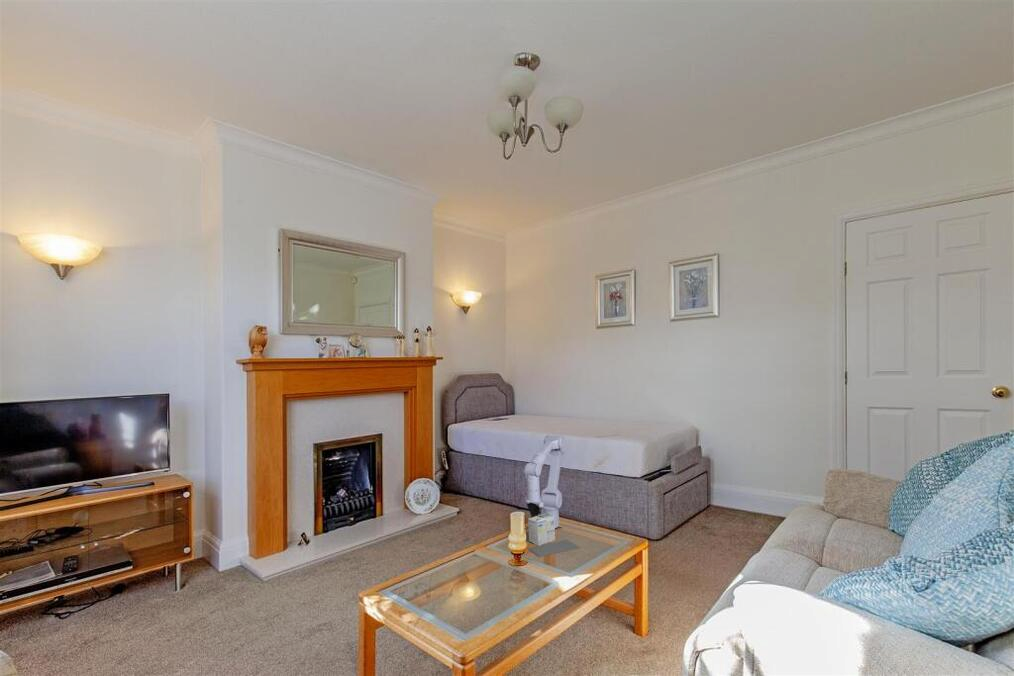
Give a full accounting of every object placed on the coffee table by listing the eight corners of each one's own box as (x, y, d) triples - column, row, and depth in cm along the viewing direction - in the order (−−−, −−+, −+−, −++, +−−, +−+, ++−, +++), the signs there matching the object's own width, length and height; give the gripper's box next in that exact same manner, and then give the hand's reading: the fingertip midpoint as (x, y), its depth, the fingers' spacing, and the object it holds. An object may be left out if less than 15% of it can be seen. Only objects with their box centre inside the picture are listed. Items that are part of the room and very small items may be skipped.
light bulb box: (545, 536, 221) (544, 512, 222) (555, 540, 216) (554, 515, 217) (528, 542, 214) (527, 518, 215) (538, 546, 209) (537, 521, 210)
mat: (527, 548, 207) (527, 548, 207) (566, 540, 215) (566, 539, 215) (539, 556, 197) (539, 556, 197) (580, 547, 206) (580, 547, 206)
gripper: (518, 487, 227) (519, 517, 226) (533, 494, 214) (534, 525, 213) (531, 485, 230) (533, 514, 229) (547, 491, 217) (548, 522, 216)
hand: (534, 519), depth 221 cm, fingers closed
